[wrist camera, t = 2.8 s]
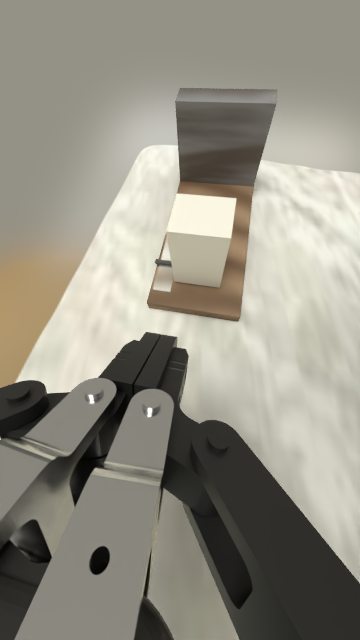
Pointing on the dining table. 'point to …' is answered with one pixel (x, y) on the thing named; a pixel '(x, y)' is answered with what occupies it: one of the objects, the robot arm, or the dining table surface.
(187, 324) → the dining table surface
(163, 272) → the base
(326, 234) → the dining table surface
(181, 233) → the block
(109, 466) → the robot arm
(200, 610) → the dining table surface
